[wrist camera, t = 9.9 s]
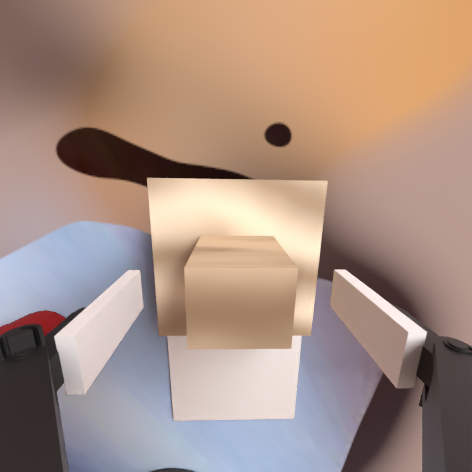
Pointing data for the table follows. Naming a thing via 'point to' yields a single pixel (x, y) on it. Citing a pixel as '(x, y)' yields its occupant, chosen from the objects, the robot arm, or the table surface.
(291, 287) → the birch lid
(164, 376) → the table surface
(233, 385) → the white square panel
